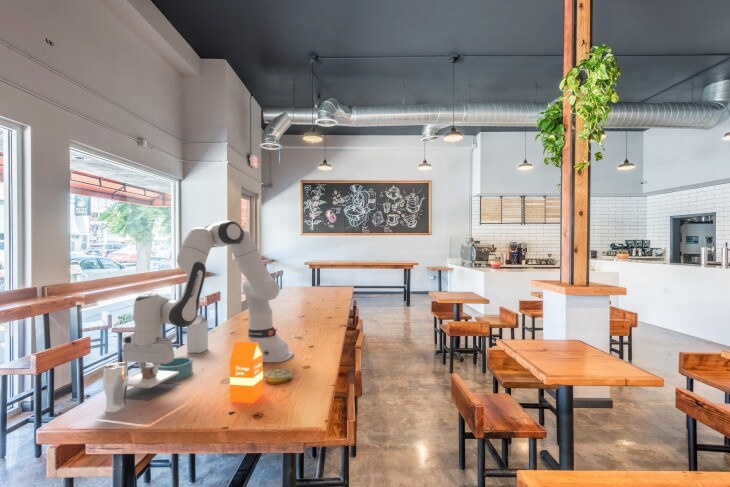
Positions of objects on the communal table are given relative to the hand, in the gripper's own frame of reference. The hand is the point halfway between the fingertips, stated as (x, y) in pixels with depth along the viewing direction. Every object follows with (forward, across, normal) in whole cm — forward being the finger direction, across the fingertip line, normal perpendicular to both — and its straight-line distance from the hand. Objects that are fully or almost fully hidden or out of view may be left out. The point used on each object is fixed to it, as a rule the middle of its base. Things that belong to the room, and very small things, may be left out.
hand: (149, 373), depth 138 cm
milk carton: (+8, +18, -50) cm, 53 cm away
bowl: (+7, +2, -16) cm, 17 cm away
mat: (+7, 0, 0) cm, 7 cm away
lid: (+2, 0, 0) cm, 2 cm away
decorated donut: (+8, -43, -20) cm, 48 cm away
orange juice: (+7, -40, -2) cm, 40 cm away
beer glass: (+7, -2, +16) cm, 17 cm away
